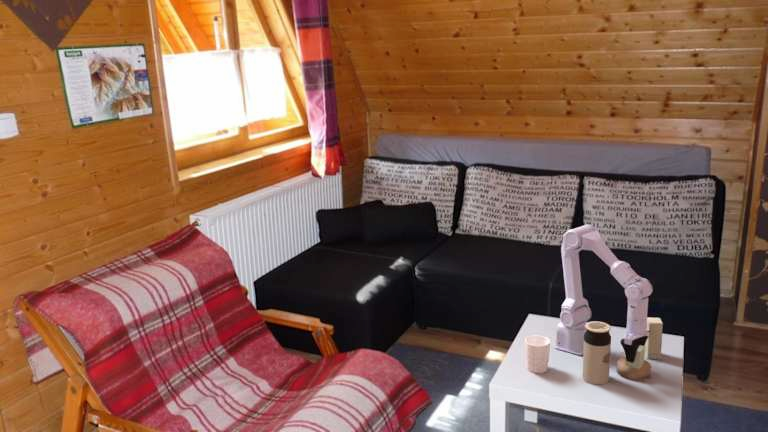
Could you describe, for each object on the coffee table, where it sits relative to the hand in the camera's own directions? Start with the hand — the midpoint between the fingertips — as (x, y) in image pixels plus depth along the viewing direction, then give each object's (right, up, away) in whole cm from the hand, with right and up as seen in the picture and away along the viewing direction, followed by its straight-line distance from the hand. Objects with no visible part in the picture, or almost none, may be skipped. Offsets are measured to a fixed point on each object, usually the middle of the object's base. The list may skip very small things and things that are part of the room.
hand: (634, 356), depth 202 cm
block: (0, -3, +1) cm, 3 cm away
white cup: (-29, -6, +7) cm, 31 cm away
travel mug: (-13, -7, -1) cm, 14 cm away
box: (+11, -2, +12) cm, 16 cm away
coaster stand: (0, -5, +1) cm, 6 cm away
